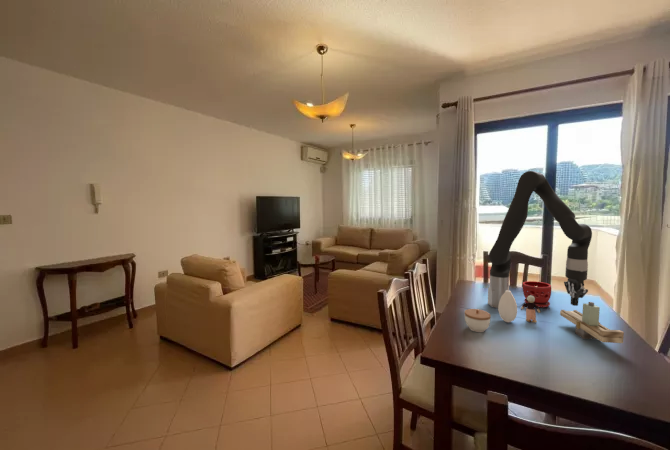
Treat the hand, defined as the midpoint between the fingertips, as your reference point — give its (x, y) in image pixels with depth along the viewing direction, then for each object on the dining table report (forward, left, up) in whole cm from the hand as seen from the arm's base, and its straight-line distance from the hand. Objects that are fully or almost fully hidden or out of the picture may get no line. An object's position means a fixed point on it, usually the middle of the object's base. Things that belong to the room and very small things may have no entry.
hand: (574, 305), depth 129 cm
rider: (0, -10, -4) cm, 11 cm away
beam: (0, -9, -11) cm, 14 cm away
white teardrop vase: (-27, +3, -11) cm, 29 cm away
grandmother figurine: (-16, +5, -11) cm, 20 cm away
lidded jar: (-44, -7, -11) cm, 46 cm away
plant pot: (-2, +28, -11) cm, 30 cm away
